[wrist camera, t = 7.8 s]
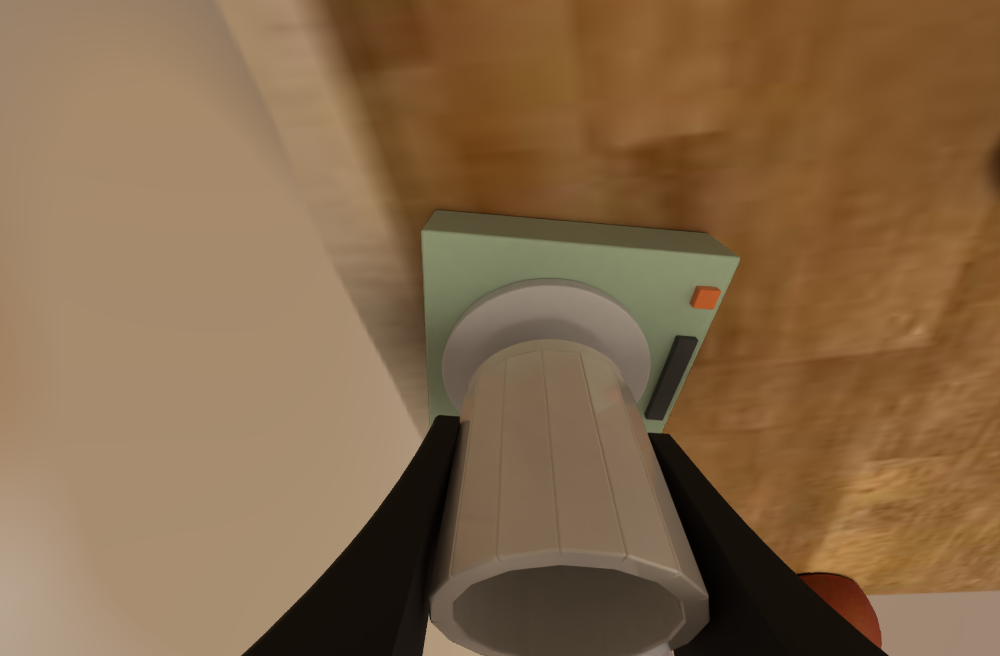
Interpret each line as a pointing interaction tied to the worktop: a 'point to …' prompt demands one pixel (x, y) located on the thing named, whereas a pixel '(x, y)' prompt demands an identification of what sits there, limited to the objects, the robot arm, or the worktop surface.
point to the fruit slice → (847, 602)
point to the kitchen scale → (568, 299)
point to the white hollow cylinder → (560, 517)
